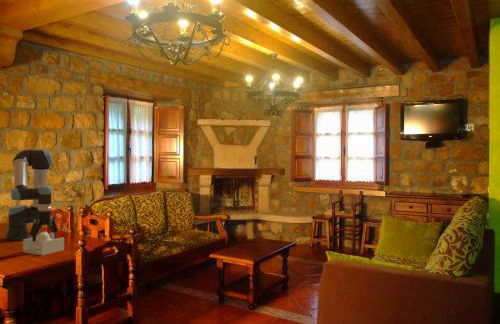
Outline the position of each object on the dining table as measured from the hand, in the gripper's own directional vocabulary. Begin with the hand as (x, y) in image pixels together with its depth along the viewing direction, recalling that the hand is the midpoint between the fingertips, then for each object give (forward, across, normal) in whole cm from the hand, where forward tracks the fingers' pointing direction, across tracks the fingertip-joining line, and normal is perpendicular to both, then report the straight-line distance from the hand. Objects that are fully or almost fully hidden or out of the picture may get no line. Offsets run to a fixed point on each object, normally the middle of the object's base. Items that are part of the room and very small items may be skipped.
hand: (43, 244), depth 260 cm
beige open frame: (+4, 0, 0) cm, 4 cm away
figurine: (+4, 0, 0) cm, 4 cm away
